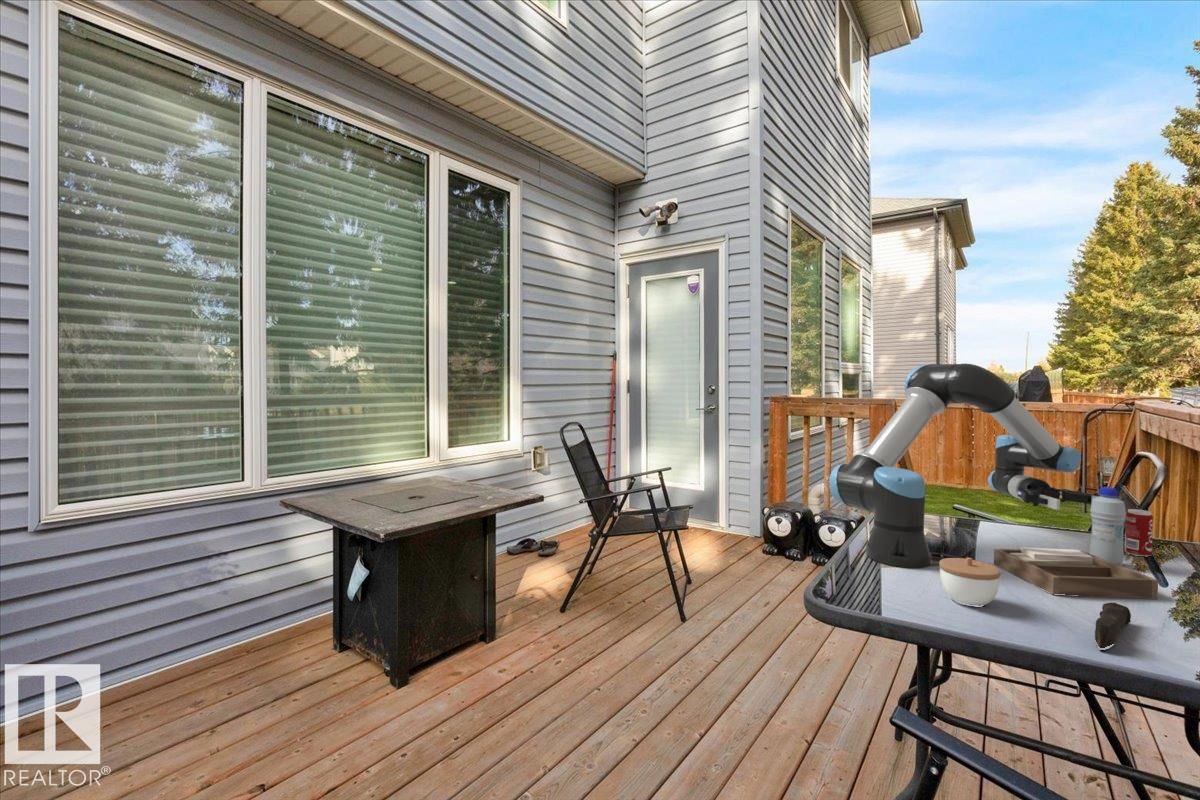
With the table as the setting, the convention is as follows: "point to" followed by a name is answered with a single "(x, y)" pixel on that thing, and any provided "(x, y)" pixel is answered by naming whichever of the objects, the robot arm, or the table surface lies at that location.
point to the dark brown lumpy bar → (1111, 623)
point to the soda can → (1139, 532)
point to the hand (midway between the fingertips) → (1085, 505)
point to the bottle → (1107, 526)
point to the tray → (1080, 577)
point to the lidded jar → (969, 580)
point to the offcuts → (1054, 557)
